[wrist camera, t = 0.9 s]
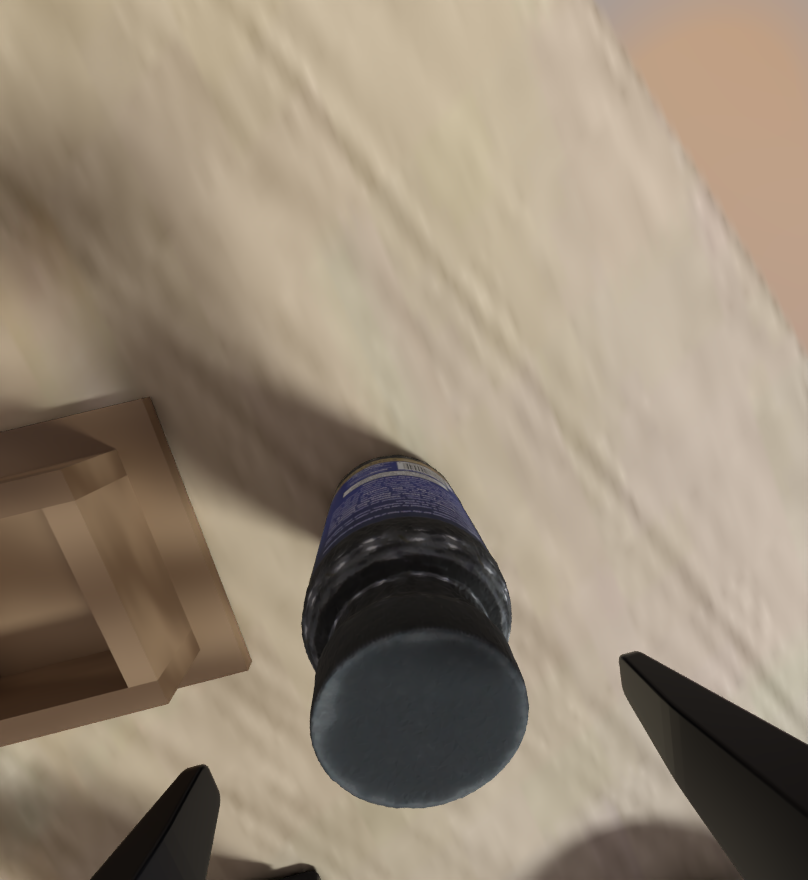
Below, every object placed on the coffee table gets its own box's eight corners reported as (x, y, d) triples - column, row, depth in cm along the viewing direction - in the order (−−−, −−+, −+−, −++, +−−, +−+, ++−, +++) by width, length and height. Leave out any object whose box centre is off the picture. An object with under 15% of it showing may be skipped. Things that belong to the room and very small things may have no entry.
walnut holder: (251, 661, 20) (225, 726, 16) (-19, 730, 20) (-105, 812, 16) (149, 396, 17) (90, 408, 13) (-175, 474, 16) (-324, 506, 13)
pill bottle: (305, 496, 18) (205, 699, 7) (413, 427, 18) (472, 534, 7) (376, 591, 20) (379, 879, 9) (479, 528, 19) (611, 747, 9)
